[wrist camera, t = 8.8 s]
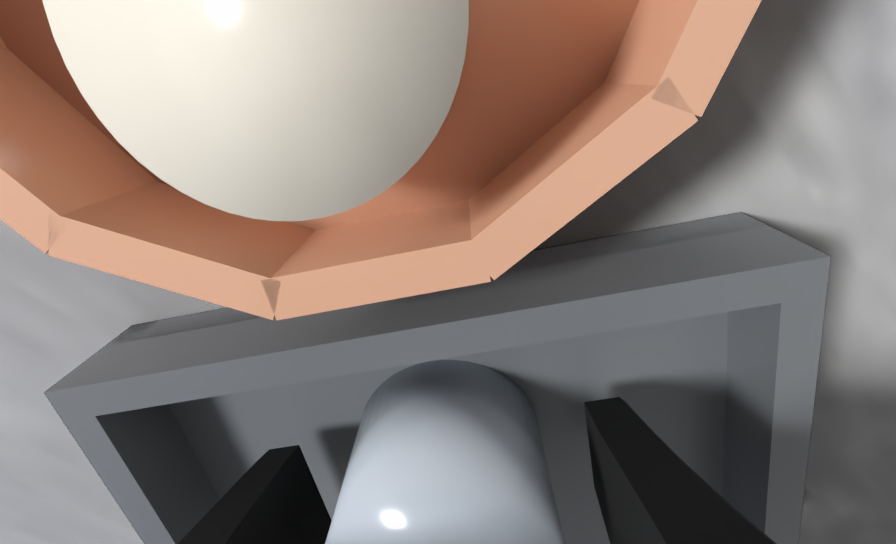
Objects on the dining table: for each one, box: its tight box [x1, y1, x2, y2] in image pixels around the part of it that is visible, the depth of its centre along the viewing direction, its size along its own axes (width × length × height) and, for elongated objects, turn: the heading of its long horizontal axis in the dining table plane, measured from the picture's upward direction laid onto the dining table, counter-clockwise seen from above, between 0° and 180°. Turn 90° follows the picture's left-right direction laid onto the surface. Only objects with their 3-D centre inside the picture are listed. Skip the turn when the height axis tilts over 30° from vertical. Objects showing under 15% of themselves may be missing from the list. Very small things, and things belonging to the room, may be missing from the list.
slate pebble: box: [325, 360, 564, 544], centre depth 8 cm, size 4×4×3 cm
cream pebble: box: [43, 0, 469, 221], centre depth 5 cm, size 4×4×3 cm
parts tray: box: [44, 212, 831, 544], centre depth 10 cm, size 12×11×2 cm
